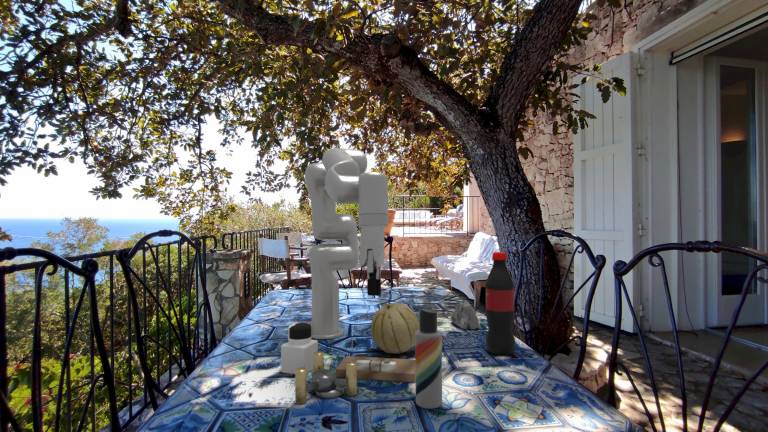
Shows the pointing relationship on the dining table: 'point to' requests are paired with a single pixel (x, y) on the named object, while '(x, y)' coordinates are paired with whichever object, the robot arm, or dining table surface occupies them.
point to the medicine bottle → (298, 349)
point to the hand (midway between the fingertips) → (374, 294)
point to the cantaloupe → (394, 328)
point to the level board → (380, 369)
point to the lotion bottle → (428, 361)
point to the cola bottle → (500, 307)
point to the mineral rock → (465, 316)
